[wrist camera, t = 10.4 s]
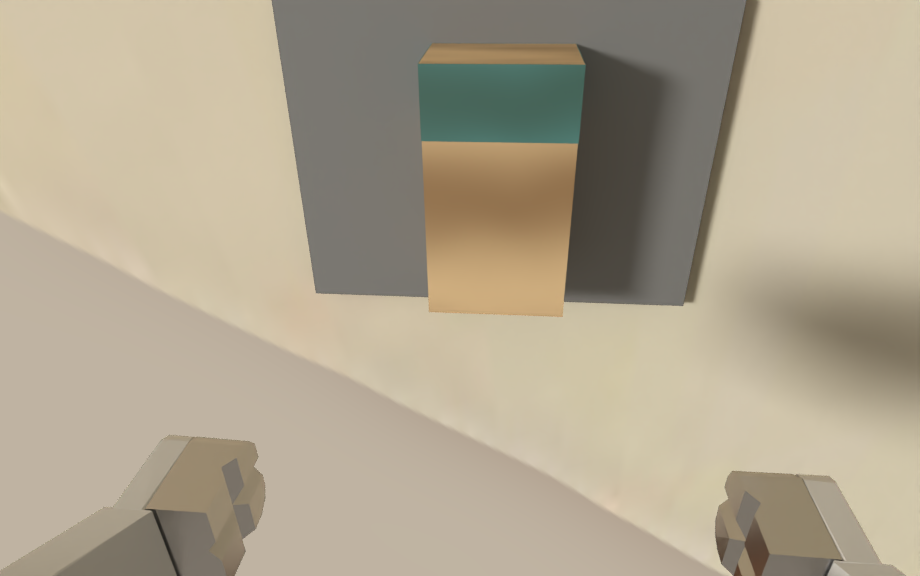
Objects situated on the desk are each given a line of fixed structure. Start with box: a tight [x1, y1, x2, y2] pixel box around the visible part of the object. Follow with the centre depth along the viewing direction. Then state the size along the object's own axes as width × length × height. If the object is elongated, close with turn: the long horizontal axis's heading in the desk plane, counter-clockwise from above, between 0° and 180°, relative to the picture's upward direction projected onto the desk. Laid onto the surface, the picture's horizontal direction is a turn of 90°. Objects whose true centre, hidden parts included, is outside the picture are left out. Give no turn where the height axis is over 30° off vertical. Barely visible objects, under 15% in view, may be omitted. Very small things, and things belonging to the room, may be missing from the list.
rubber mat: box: [272, 0, 746, 306], centre depth 24 cm, size 16×12×1 cm
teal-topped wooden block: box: [418, 43, 586, 317], centre depth 22 cm, size 9×5×4 cm, turn 1°
